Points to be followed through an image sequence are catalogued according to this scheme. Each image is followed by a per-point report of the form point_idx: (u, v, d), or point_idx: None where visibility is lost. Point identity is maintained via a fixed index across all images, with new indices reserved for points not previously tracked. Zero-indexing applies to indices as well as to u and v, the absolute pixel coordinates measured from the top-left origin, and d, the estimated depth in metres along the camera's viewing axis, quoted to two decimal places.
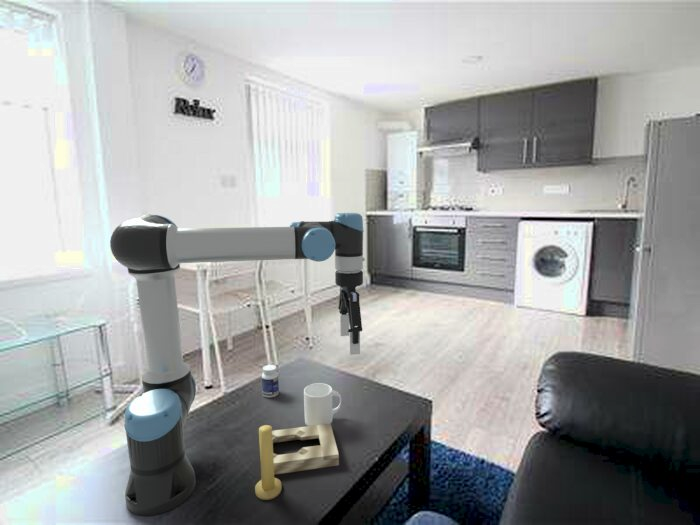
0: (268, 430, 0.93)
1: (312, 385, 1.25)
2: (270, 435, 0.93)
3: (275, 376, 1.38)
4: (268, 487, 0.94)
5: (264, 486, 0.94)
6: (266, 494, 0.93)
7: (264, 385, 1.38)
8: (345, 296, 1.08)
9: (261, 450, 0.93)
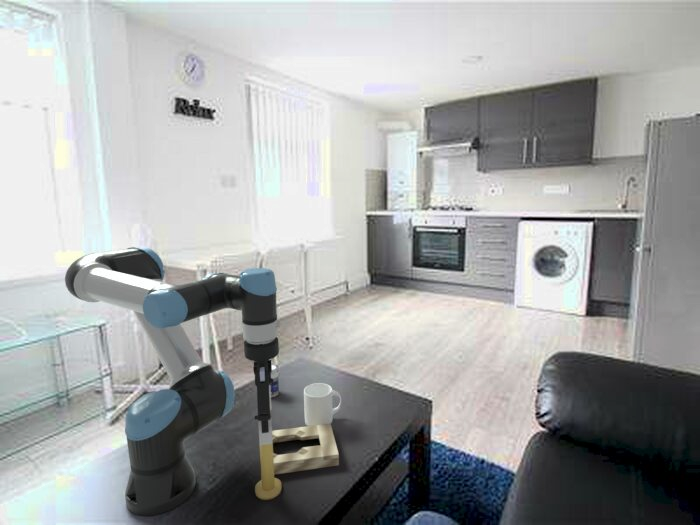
0: None
1: (312, 385, 1.25)
2: None
3: (275, 376, 1.38)
4: (268, 487, 0.94)
5: (264, 486, 0.94)
6: (266, 494, 0.93)
7: None
8: (255, 371, 0.88)
9: (261, 450, 0.93)
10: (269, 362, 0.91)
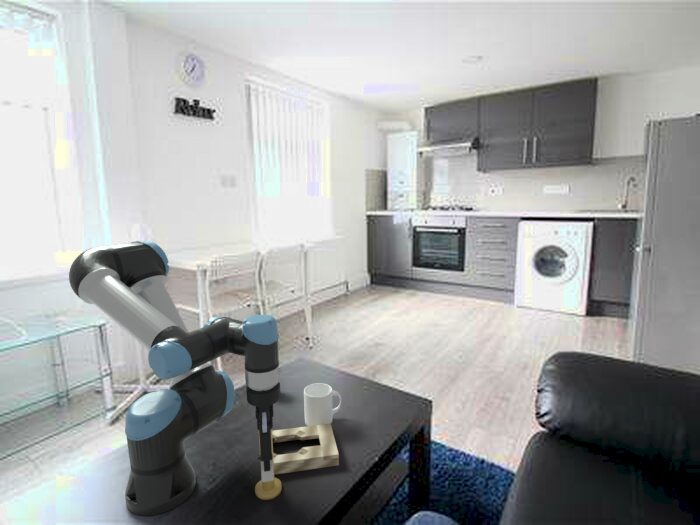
0: None
1: (312, 385, 1.25)
2: None
3: None
4: (268, 487, 0.94)
5: (264, 486, 0.94)
6: (266, 494, 0.93)
7: None
8: (257, 417, 0.90)
9: None
10: None
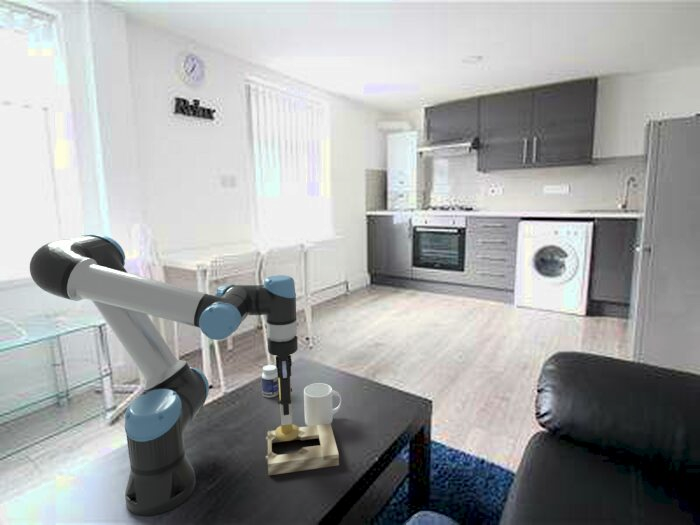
0: None
1: (312, 385, 1.25)
2: None
3: (275, 376, 1.38)
4: (287, 430, 1.06)
5: (283, 429, 1.06)
6: (285, 436, 1.05)
7: (264, 385, 1.38)
8: (277, 366, 1.02)
9: None
10: (289, 356, 1.05)
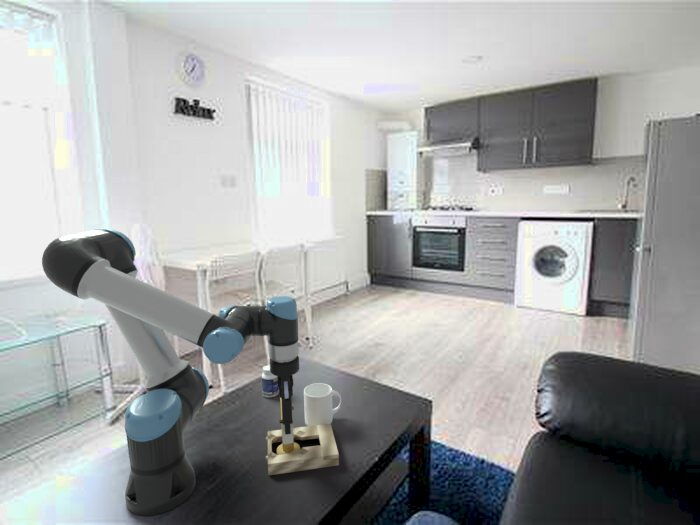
0: None
1: (312, 385, 1.25)
2: None
3: (275, 376, 1.38)
4: (288, 449, 1.07)
5: (285, 448, 1.07)
6: None
7: (264, 385, 1.38)
8: (279, 386, 1.03)
9: None
10: (290, 375, 1.06)
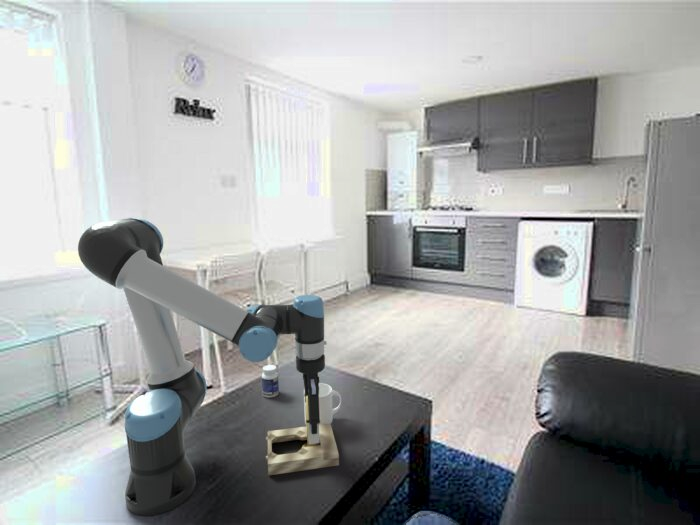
0: None
1: None
2: None
3: (275, 376, 1.38)
4: None
5: None
6: None
7: (264, 385, 1.38)
8: (306, 383, 1.04)
9: (308, 415, 1.07)
10: (316, 373, 1.07)
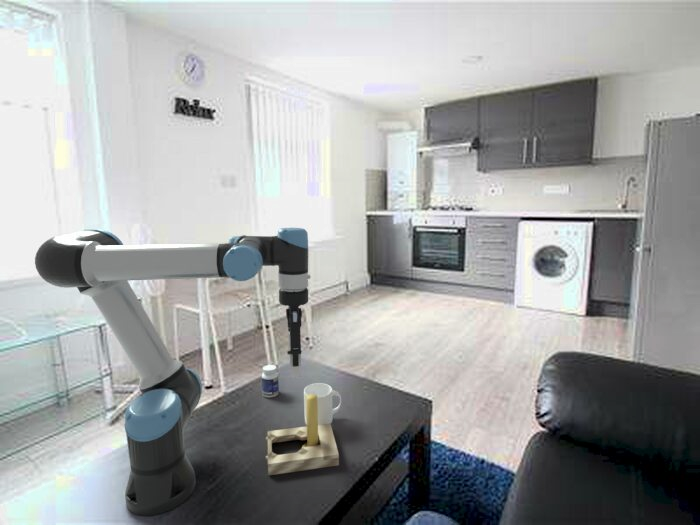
0: (314, 398, 1.06)
1: (312, 385, 1.25)
2: (316, 402, 1.07)
3: (275, 376, 1.38)
4: None
5: None
6: None
7: (264, 385, 1.38)
8: (288, 315, 1.02)
9: (308, 415, 1.07)
10: (299, 310, 1.06)
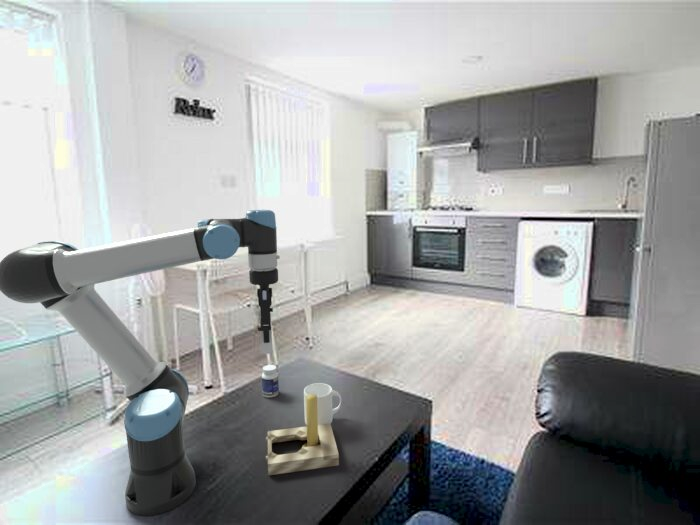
0: (314, 398, 1.06)
1: (312, 385, 1.25)
2: (316, 402, 1.07)
3: (275, 376, 1.38)
4: None
5: None
6: None
7: (264, 385, 1.38)
8: (258, 294, 1.06)
9: (308, 415, 1.07)
10: (270, 289, 1.09)
